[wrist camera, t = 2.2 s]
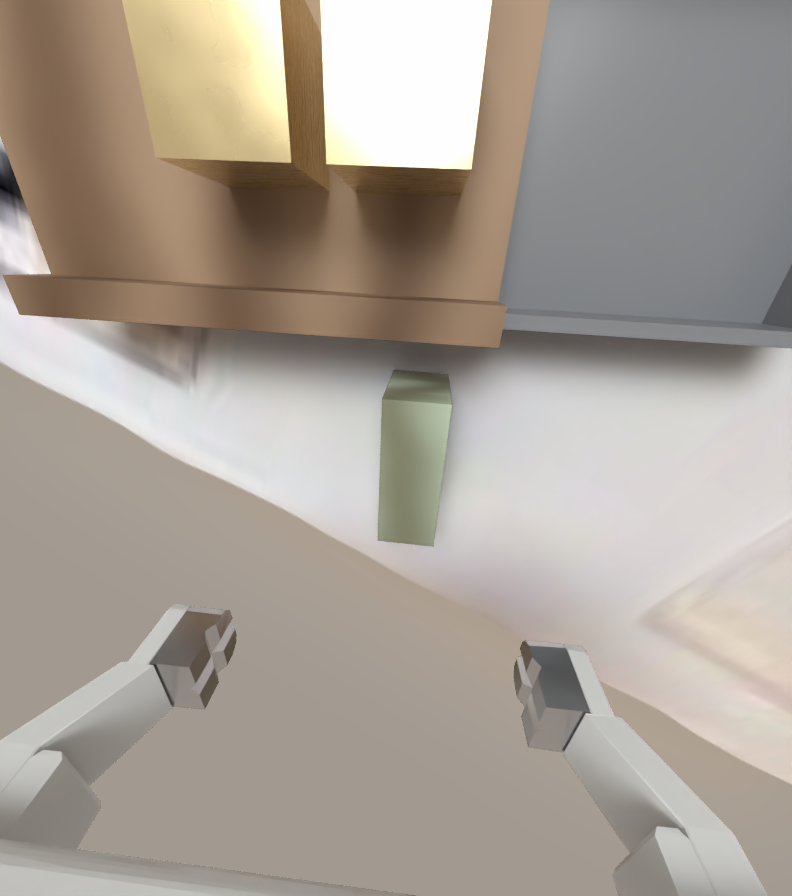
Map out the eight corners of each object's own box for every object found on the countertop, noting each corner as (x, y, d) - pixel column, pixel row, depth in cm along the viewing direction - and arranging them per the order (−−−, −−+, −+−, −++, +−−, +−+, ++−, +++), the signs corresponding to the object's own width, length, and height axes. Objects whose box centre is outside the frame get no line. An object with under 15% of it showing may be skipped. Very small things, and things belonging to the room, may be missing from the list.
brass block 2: (478, 43, 11) (498, -63, 7) (461, 197, 13) (471, 169, 9) (355, 42, 11) (318, -62, 8) (355, 192, 13) (326, 163, 10)
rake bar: (447, 373, 19) (452, 404, 15) (433, 492, 23) (433, 546, 18) (394, 369, 19) (382, 398, 15) (388, 488, 23) (377, 540, 19)
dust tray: (983, -103, 11) (1209, -256, 8) (757, 335, 17) (831, 350, 14) (550, -97, 11) (594, -232, 8) (484, 318, 17) (495, 328, 14)
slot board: (554, -122, 11) (632, -376, 7) (483, 328, 18) (499, 348, 13) (-10, -112, 13) (-252, -320, 8) (116, 304, 19) (19, 314, 15)
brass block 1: (324, 41, 11) (275, -61, 8) (329, 191, 13) (291, 162, 10) (208, 40, 12) (108, -61, 8) (228, 187, 13) (155, 157, 10)
